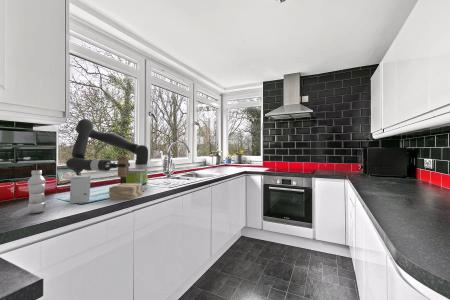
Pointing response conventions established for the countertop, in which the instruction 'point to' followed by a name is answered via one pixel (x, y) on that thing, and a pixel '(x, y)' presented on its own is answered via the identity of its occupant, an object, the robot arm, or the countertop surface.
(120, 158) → the walnut block
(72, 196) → the skincare box
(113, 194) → the plinth
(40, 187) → the plastic bottle
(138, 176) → the tea box
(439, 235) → the countertop surface
